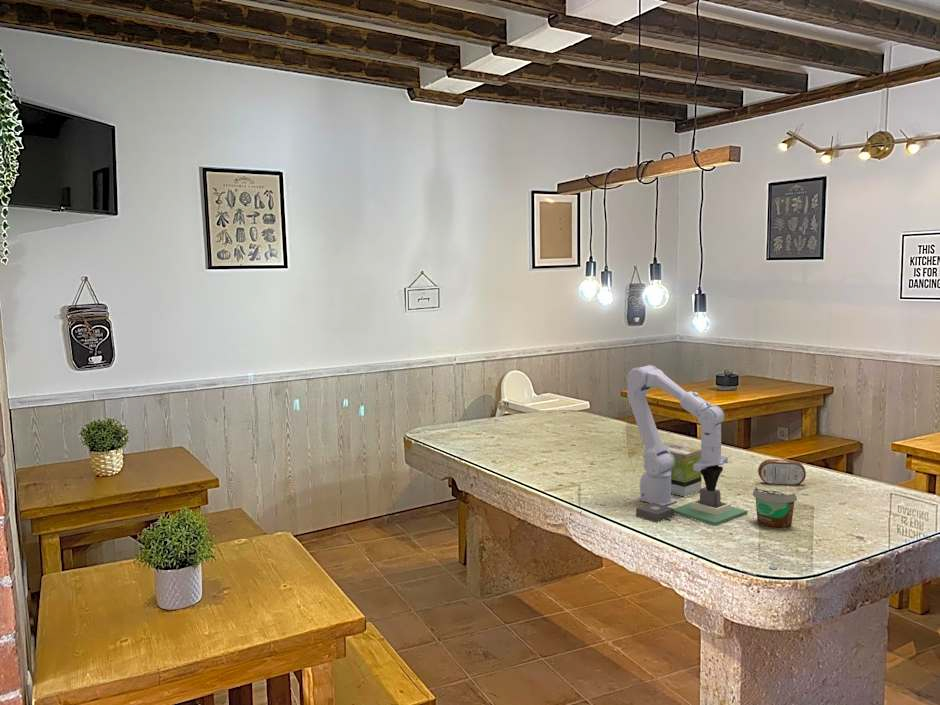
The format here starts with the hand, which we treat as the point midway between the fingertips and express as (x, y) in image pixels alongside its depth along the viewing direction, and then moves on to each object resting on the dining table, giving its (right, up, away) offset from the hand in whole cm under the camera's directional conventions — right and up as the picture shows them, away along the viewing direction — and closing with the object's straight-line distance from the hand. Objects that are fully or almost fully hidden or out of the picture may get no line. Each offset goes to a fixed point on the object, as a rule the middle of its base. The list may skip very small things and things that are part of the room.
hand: (710, 489), depth 224 cm
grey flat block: (-17, -8, -2) cm, 18 cm away
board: (-1, -7, 0) cm, 7 cm away
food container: (+13, -8, -12) cm, 20 cm away
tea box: (-4, -5, +25) cm, 26 cm away
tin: (+33, -4, +28) cm, 44 cm away
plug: (0, -6, +1) cm, 6 cm away
